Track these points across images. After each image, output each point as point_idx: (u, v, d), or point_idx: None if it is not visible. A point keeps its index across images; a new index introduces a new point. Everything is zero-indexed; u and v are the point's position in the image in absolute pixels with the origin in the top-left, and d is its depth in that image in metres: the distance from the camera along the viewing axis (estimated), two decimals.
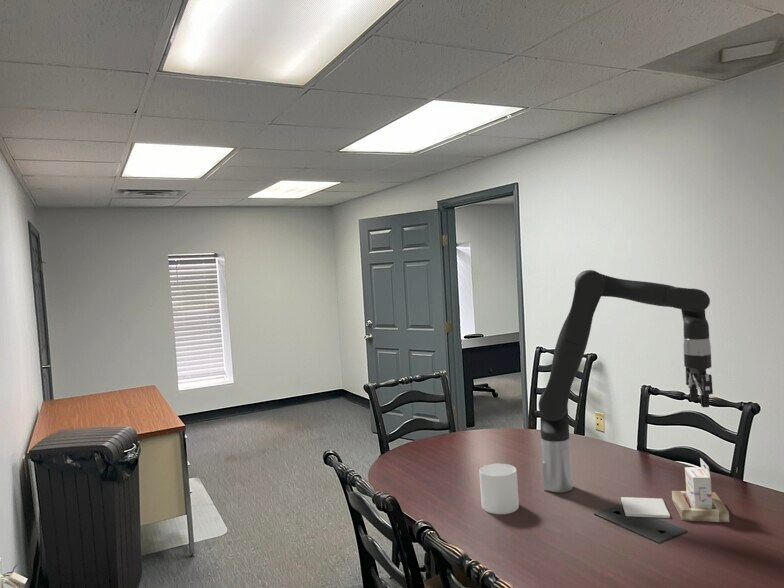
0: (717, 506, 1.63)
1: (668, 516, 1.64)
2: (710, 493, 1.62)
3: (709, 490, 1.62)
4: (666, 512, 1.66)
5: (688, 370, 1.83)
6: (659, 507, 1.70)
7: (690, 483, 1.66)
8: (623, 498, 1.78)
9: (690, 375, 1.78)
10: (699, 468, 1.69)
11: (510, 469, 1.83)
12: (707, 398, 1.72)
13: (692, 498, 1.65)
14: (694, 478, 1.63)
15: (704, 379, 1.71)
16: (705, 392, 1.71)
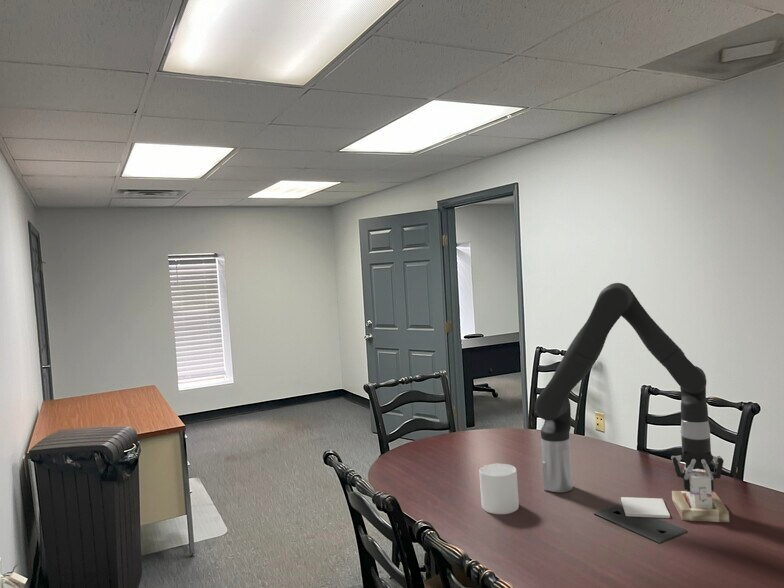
0: (717, 506, 1.63)
1: (668, 516, 1.64)
2: (710, 493, 1.62)
3: (709, 490, 1.62)
4: (666, 512, 1.66)
5: None
6: (659, 507, 1.70)
7: (690, 483, 1.66)
8: (623, 498, 1.78)
9: (695, 461, 1.65)
10: None
11: (510, 469, 1.83)
12: None
13: (692, 498, 1.65)
14: (694, 478, 1.63)
15: None
16: None
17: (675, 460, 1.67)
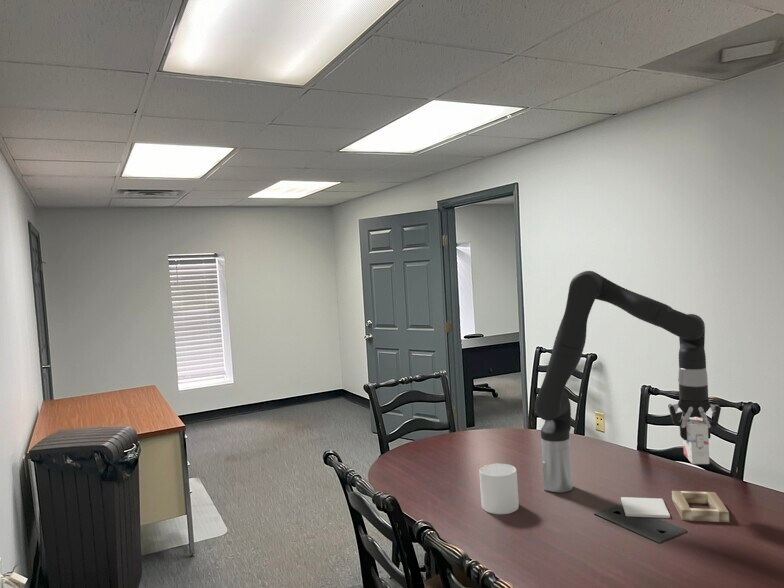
0: (717, 506, 1.63)
1: (668, 516, 1.64)
2: (707, 440, 1.62)
3: (706, 437, 1.62)
4: (666, 512, 1.66)
5: None
6: (659, 507, 1.70)
7: (687, 431, 1.65)
8: (623, 498, 1.78)
9: (692, 409, 1.64)
10: (696, 417, 1.69)
11: (510, 469, 1.83)
12: None
13: (689, 446, 1.65)
14: (691, 425, 1.63)
15: None
16: None
17: (672, 408, 1.66)
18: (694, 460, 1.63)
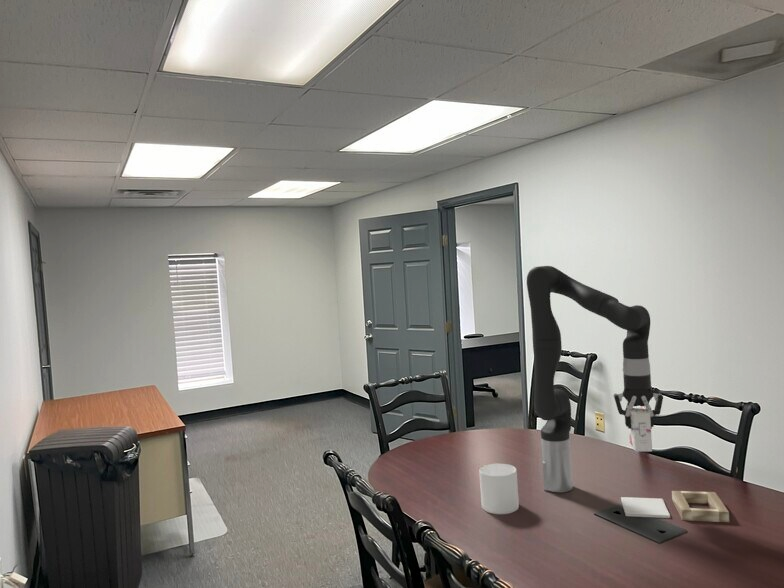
0: (717, 506, 1.63)
1: (668, 516, 1.64)
2: (649, 428, 1.66)
3: (648, 425, 1.66)
4: (666, 512, 1.66)
5: (618, 397, 1.71)
6: (659, 507, 1.70)
7: (631, 419, 1.69)
8: (623, 498, 1.78)
9: (635, 397, 1.68)
10: (641, 406, 1.73)
11: (510, 469, 1.83)
12: None
13: (633, 434, 1.69)
14: (634, 414, 1.67)
15: None
16: None
17: (617, 397, 1.70)
18: (637, 447, 1.67)
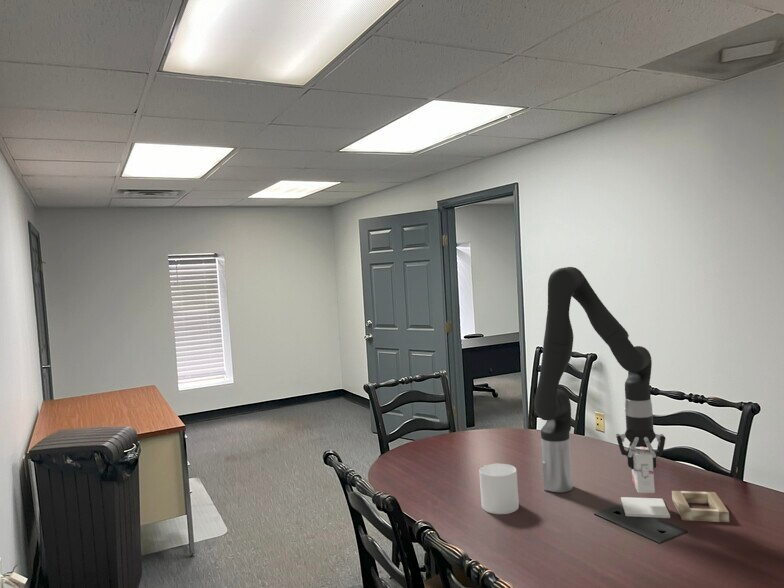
0: (717, 506, 1.63)
1: (668, 516, 1.64)
2: (652, 470, 1.66)
3: (651, 467, 1.66)
4: (666, 512, 1.66)
5: (621, 438, 1.71)
6: (659, 507, 1.70)
7: (633, 460, 1.70)
8: (623, 498, 1.78)
9: (637, 439, 1.69)
10: None
11: (510, 469, 1.83)
12: None
13: (635, 475, 1.69)
14: (636, 455, 1.67)
15: None
16: None
17: (619, 438, 1.71)
18: (639, 489, 1.67)
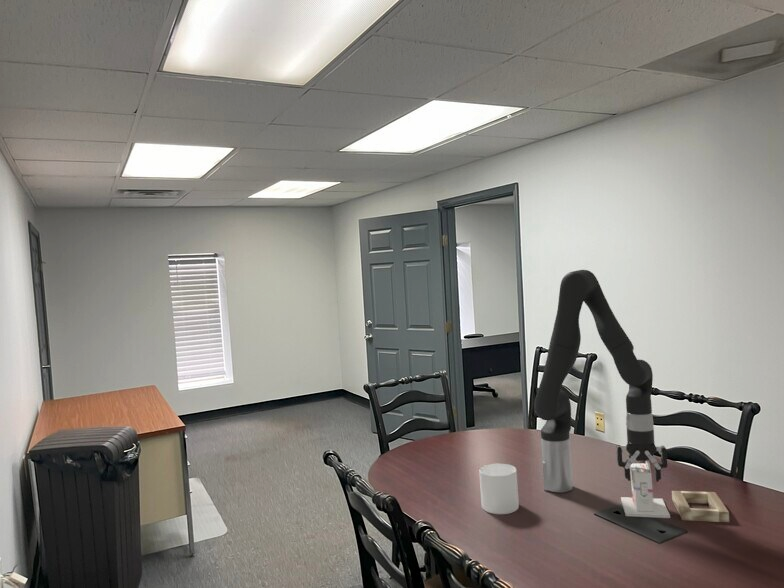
0: (717, 506, 1.63)
1: (668, 516, 1.64)
2: (651, 488, 1.67)
3: (650, 485, 1.67)
4: (666, 512, 1.66)
5: None
6: (659, 507, 1.70)
7: (633, 478, 1.70)
8: (623, 498, 1.78)
9: (638, 453, 1.69)
10: (643, 464, 1.74)
11: (510, 469, 1.83)
12: None
13: (634, 493, 1.70)
14: (635, 473, 1.67)
15: None
16: None
17: (620, 450, 1.71)
18: (638, 507, 1.68)
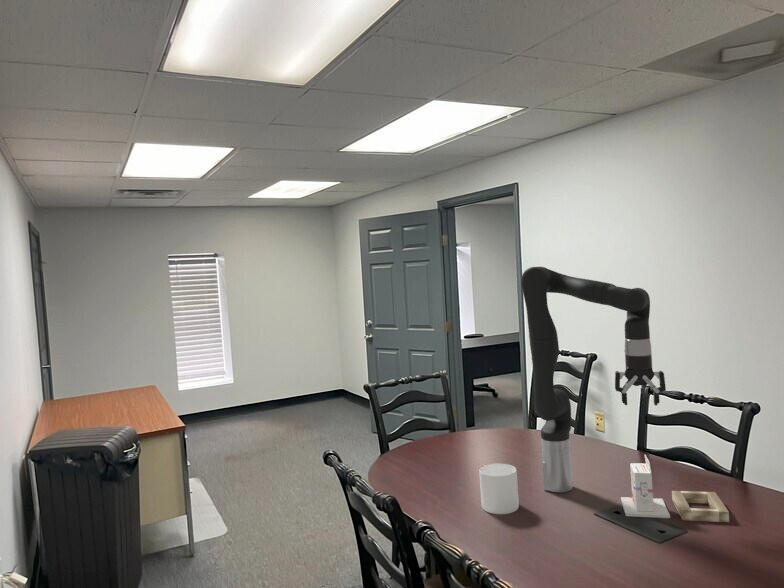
0: (717, 506, 1.63)
1: (668, 516, 1.64)
2: (651, 488, 1.67)
3: (650, 485, 1.67)
4: (666, 512, 1.66)
5: None
6: (659, 507, 1.70)
7: (633, 478, 1.70)
8: (623, 498, 1.78)
9: (636, 377, 1.73)
10: (643, 464, 1.74)
11: (510, 469, 1.83)
12: (658, 395, 1.74)
13: (635, 493, 1.70)
14: (635, 473, 1.67)
15: None
16: None
17: (618, 375, 1.75)
18: (638, 507, 1.68)
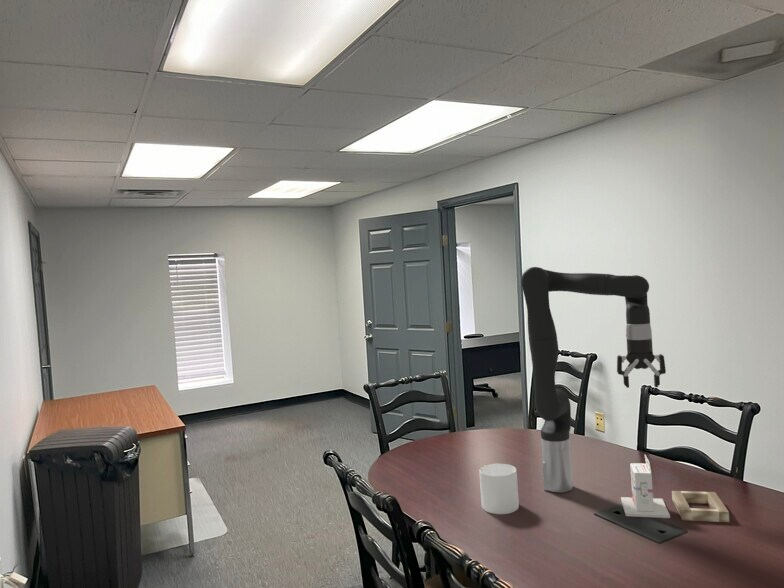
0: (717, 506, 1.63)
1: (668, 516, 1.64)
2: (651, 488, 1.67)
3: (650, 485, 1.67)
4: (666, 512, 1.66)
5: None
6: (659, 507, 1.70)
7: (633, 478, 1.70)
8: (623, 498, 1.78)
9: (638, 361, 1.81)
10: (643, 464, 1.74)
11: (510, 469, 1.83)
12: None
13: (635, 493, 1.70)
14: (636, 473, 1.67)
15: None
16: None
17: (620, 358, 1.83)
18: (638, 507, 1.68)
